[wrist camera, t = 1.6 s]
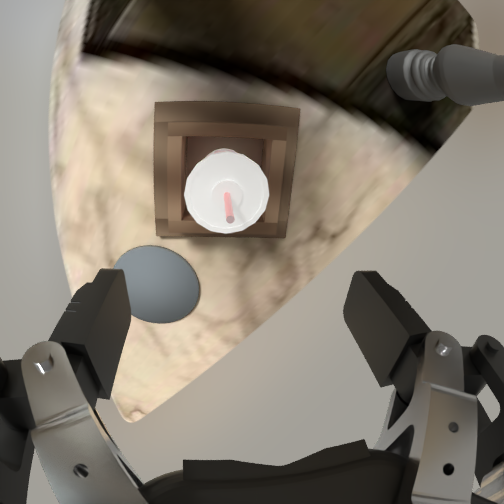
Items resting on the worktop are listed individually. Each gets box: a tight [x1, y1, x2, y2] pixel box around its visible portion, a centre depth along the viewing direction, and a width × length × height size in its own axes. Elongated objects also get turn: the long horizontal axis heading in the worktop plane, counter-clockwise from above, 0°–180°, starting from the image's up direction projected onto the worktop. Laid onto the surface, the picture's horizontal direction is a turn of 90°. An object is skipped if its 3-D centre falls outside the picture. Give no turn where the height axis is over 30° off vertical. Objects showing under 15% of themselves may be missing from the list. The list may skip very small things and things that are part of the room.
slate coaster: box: [113, 245, 199, 323], centre depth 33 cm, size 11×11×1 cm
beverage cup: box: [184, 148, 269, 234], centre depth 22 cm, size 6×6×14 cm
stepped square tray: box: [154, 101, 300, 238], centre depth 26 cm, size 14×14×4 cm
